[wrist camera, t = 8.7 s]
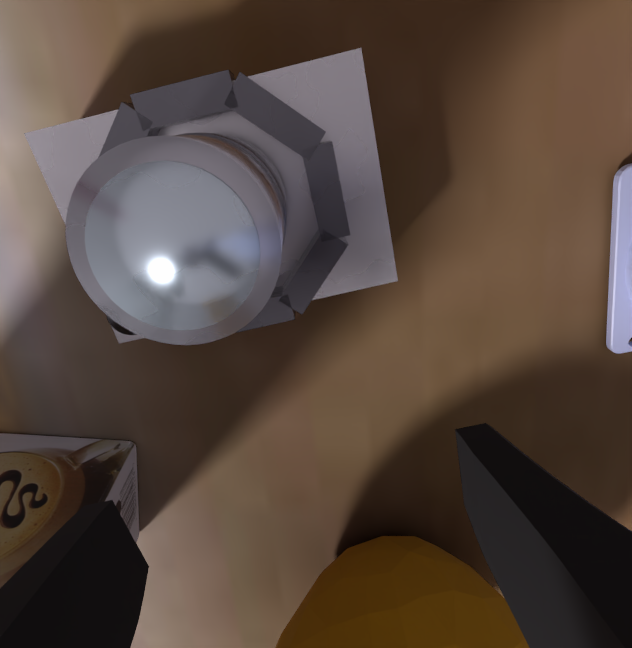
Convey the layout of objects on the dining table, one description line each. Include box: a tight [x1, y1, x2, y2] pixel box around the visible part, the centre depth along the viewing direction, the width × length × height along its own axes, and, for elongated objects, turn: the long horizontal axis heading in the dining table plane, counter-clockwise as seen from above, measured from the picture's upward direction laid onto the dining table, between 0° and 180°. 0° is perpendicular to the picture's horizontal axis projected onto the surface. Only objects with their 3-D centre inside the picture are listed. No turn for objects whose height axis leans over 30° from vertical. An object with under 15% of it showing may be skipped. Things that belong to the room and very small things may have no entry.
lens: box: [66, 133, 287, 345], centre depth 11 cm, size 4×4×6 cm
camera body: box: [24, 48, 398, 344], centre depth 15 cm, size 10×7×4 cm
